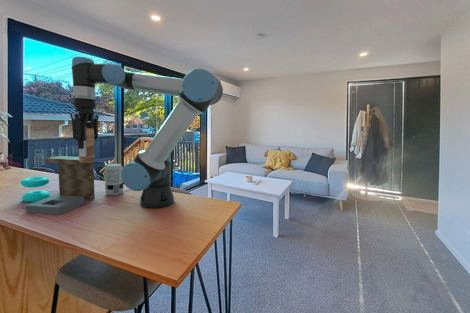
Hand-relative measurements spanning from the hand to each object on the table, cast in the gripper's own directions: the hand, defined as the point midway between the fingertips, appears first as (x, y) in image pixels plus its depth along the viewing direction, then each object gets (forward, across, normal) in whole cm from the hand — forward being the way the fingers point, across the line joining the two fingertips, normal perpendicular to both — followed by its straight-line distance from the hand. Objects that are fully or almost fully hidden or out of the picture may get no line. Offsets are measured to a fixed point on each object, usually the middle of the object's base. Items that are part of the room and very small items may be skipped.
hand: (87, 155), depth 99 cm
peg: (+3, 0, 0) cm, 3 cm away
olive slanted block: (+23, -8, -14) cm, 28 cm away
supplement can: (+23, -22, -2) cm, 32 cm away
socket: (+23, +2, -13) cm, 26 cm away
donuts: (+23, -6, -30) cm, 38 cm away
